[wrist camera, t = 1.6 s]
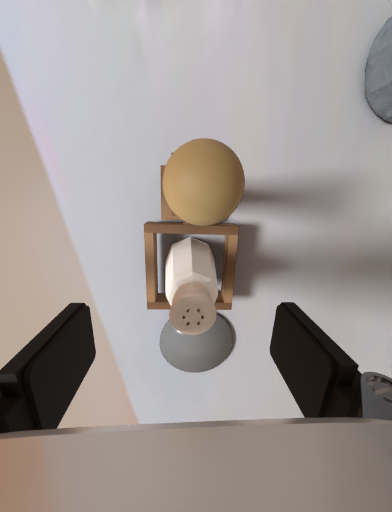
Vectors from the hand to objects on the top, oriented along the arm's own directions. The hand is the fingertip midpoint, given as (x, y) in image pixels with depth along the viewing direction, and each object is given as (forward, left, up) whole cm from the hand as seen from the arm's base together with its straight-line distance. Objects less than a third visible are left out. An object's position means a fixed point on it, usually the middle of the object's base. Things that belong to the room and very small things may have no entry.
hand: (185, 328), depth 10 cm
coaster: (-11, -1, -13) cm, 17 cm away
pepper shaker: (0, 0, -13) cm, 13 cm away
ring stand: (+2, 0, -12) cm, 13 cm away
